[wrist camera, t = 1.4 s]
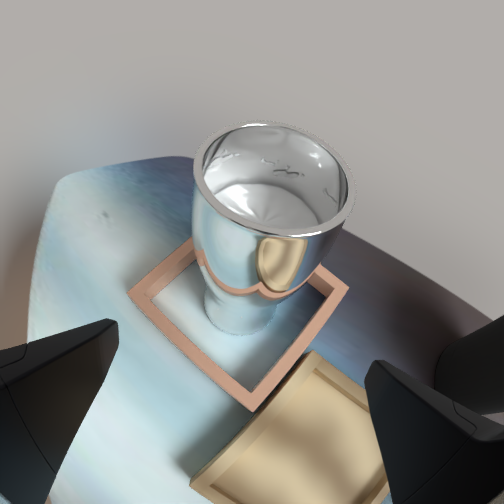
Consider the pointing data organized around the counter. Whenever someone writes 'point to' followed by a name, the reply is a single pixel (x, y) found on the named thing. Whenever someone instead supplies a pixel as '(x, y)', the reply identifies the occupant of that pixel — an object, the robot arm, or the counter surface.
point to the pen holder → (475, 370)
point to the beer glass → (264, 217)
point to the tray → (302, 446)
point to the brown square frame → (249, 400)
